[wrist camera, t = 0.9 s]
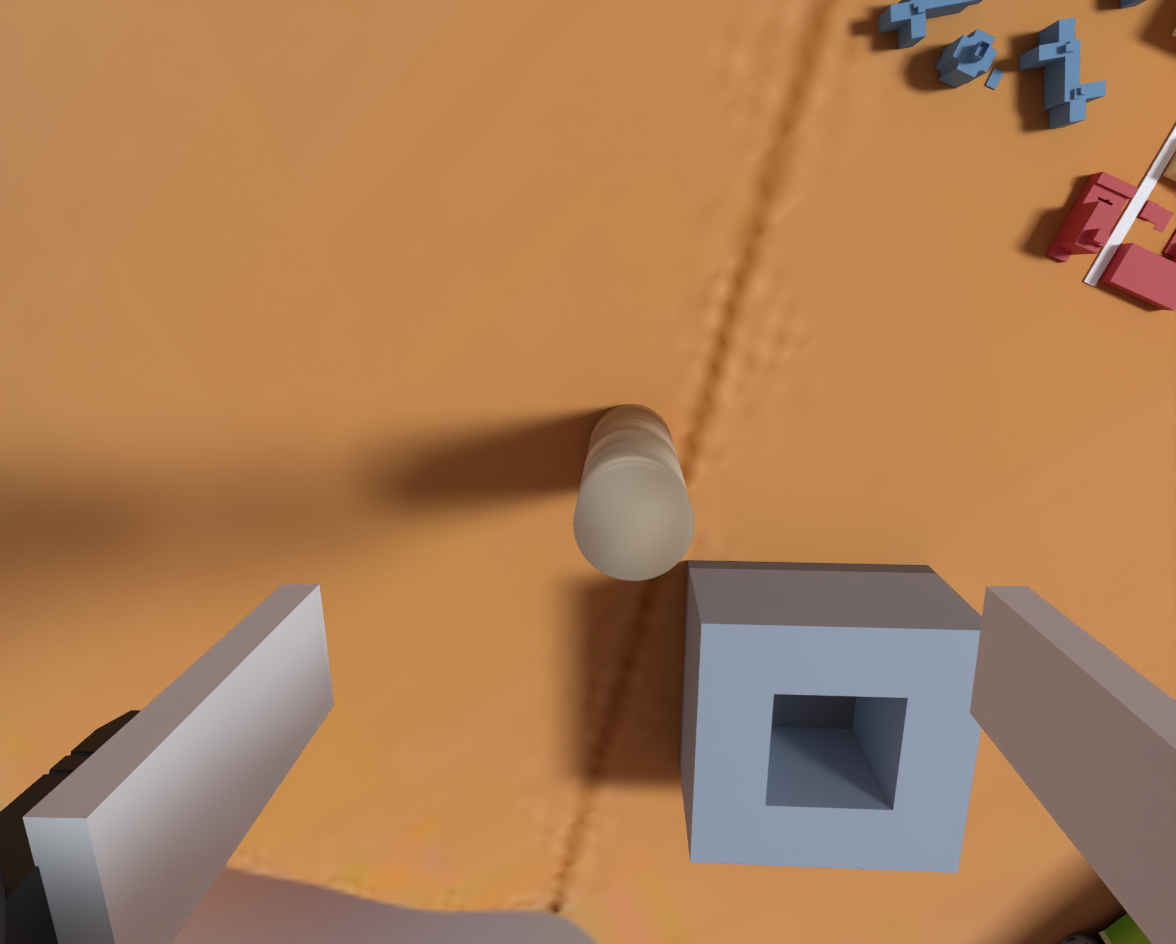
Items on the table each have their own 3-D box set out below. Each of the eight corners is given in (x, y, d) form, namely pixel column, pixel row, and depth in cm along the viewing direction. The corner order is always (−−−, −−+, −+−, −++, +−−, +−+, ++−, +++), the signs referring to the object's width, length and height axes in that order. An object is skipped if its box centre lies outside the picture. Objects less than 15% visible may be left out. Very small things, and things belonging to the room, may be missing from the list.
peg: (589, 483, 36) (573, 579, 25) (590, 403, 35) (573, 465, 24) (670, 484, 36) (692, 582, 25) (673, 404, 35) (696, 467, 24)
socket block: (679, 764, 40) (690, 862, 34) (687, 560, 37) (701, 623, 31) (901, 771, 40) (957, 872, 33) (928, 565, 37) (996, 630, 30)
